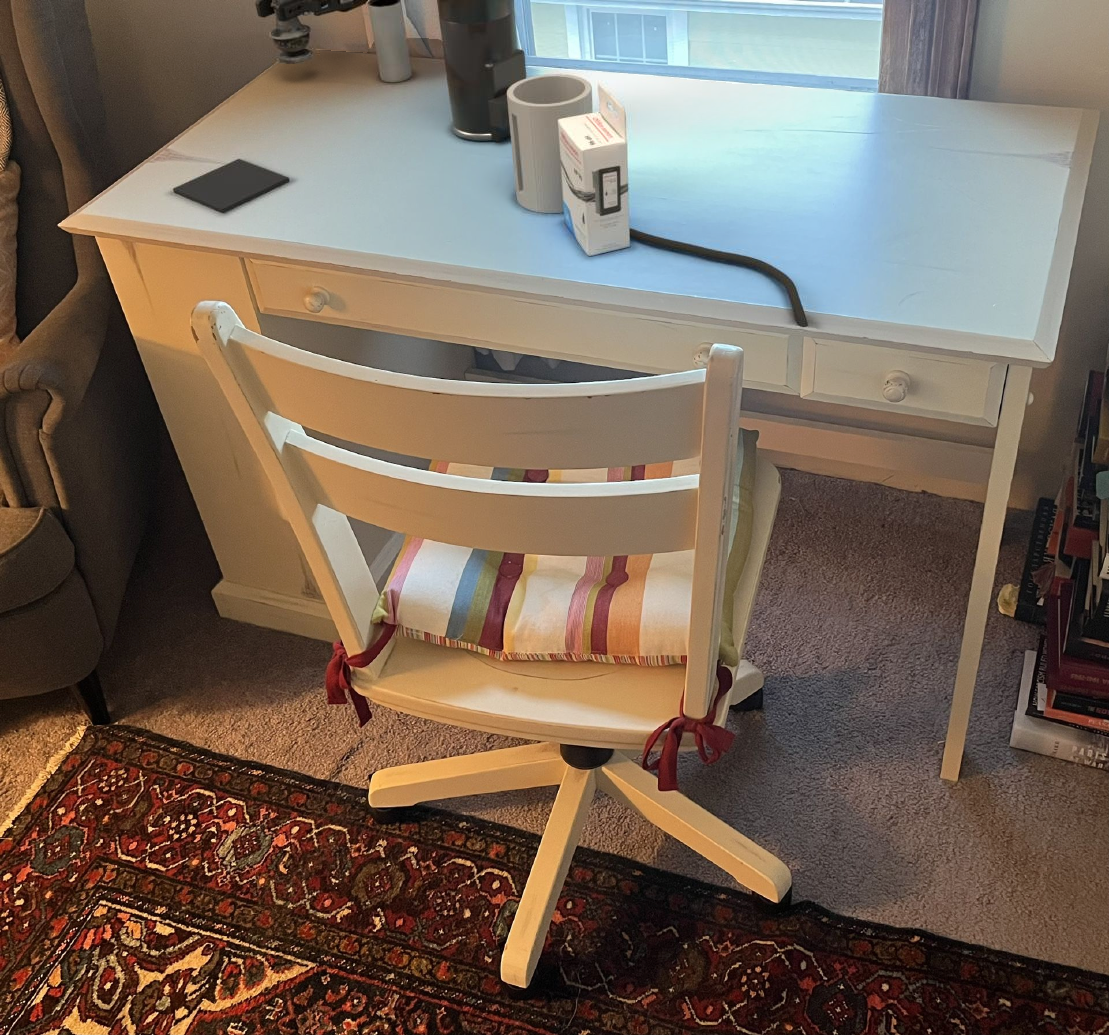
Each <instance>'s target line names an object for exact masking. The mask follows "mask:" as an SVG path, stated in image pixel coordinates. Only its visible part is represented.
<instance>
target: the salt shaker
mask: <svg viewBox="0 0 1109 1035" xmlns="http://www.w3.org/2000/svg"><path fill="white" fill-rule="evenodd" d="M272 1H273V2H272V3H271V4H270V5H271V7H273V8H274V12H275V13H274V17H275V28H273V29H272V30H270V31H269V33H268V37H270V39H271V40H272V43H273V44H274V46H275V47H276V48H277V49H278V50H279V51H281V53H280V54H279V55H278V56H277V58H276V60H277V62H278V63H280V64H285V65H287V64H288V65H293V64H300V63H304V62H307V61H309V60H311V59H313V57H314V56H315V53H314V51H313V50H310V49H308V48H306V47H307V46H308V45H309V43H310V39H311V38H310V37H311V34H310V32H312V31H311V29H312V28H311V26H309V25H307V24H303V23H301V21H300V19H299V16H297V17H295V18H292V19H290V20H287V21H285V22H282V21H279V20H278V18H277V13H276V9H275V7H276V5H277V4H279V3H281V2H284V1H286V0H272Z"/></svg>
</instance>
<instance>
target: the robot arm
mask: <svg viewBox="0 0 1109 1035" xmlns="http://www.w3.org/2000/svg"><path fill="white" fill-rule="evenodd" d="M367 1H368V0H286V1H284V2H281V3H279V4H277V5H276V7H275V9H276V13H277V18H278V20H279V21H282V22H285V21H287V20H290V19H292V18H295V17H297V16H298V17H300V16H305V17H306V16H309V15H311V14H313V16H315V17H320V16H322V15H327V14H331V13H335V12H340V13H348V12H349V11H353V10H354V9H358V8H360V7H361V6H364V5H367V4H366V2H367ZM272 2H273V1H272V0H255V9H256V14H257V16H258V17H260V18H264V19H265V18H267V17H270V16H272V15H275V12H274V8H273V7H271V5H270V4H271V3H272ZM436 3H437V4H436V5H437V11H438V12H437V13H438V22H439V27H440V29H439V30H440V35H441V43H442V51H443V59H444V66H445V74H446V82H447V90H448V97H449V98H448V99H449V106H450V113H451V120H452V121H451V125H452V126H451V127H452V131H453V133H454V135H456V136H458V137H459V138H461V139H465V140H469V141H479V142H483V141H493V142H497V143H499V142H502V141H504V140H506V139H508V138H509V137H510V138H511V133H510V123H509V112H508V101H507V90H508V89H509V88H510V86H512V85H513V84H515V83H516V82H518V81H521V80H523V79H526V78H528V77H527V67H526V66H527V65H526V54H525V53H526V52H525V51H524V50H523V49H521V48H519V45H518V44H519V43H518V32H517V20H516V19H517V18H516V8H515V0H436ZM629 235H630V238H631V239H633V240H637V241H640V242H643V243H645V244H649V245H653V246H656V247H660V248H664V249H669V250H673V251H677V252H683V253H687V254H691V255H694V256H699V257H703V258H705V259H711V260H715V261H720V262H721V261H722V262H726V263H732V264H736V265H742V266H746V267H749V268H753V269H756V270H758V271H760V272H763V273H765V274H766V275H768V276H769V277H772V278H773V279H775V280H776V281H778V282H779V283H780V284H781V285H782V286H783V288H784V290H785V292H786V293H787V296H788V300H789V302H790V306H791V309H792V311H793V314H794V317H795V320H796V324H797V326H798V327H800V328H807V327H808V326H809V322H808V319H807V316H806V312H805V311H804V307H803V304H802V301H801V298H800V295H799V292H798V290H797V287H796V285H795V283H794V282H793V279H792V278H790V277H789V276H788V275H787V274H786V273H785V272H783V271H781V270H780V269H779V268H777V267H775V266H773V265H772V264H770V263H767V262H765V261H763V260H761V259H758V258H754V257H752V256H748V255H743V254H738V253H733V252H727V251H722V250H717V249H713V248H708V247H704V246H700V245H695V244H691V243H687V242H684V241H683V242H682V241H678V240H675V239H669V238H665V237H661V236H656V235H654V234H649V233H646V232H644V231H640V230H636V229H634V228H631V227H629Z"/></svg>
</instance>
